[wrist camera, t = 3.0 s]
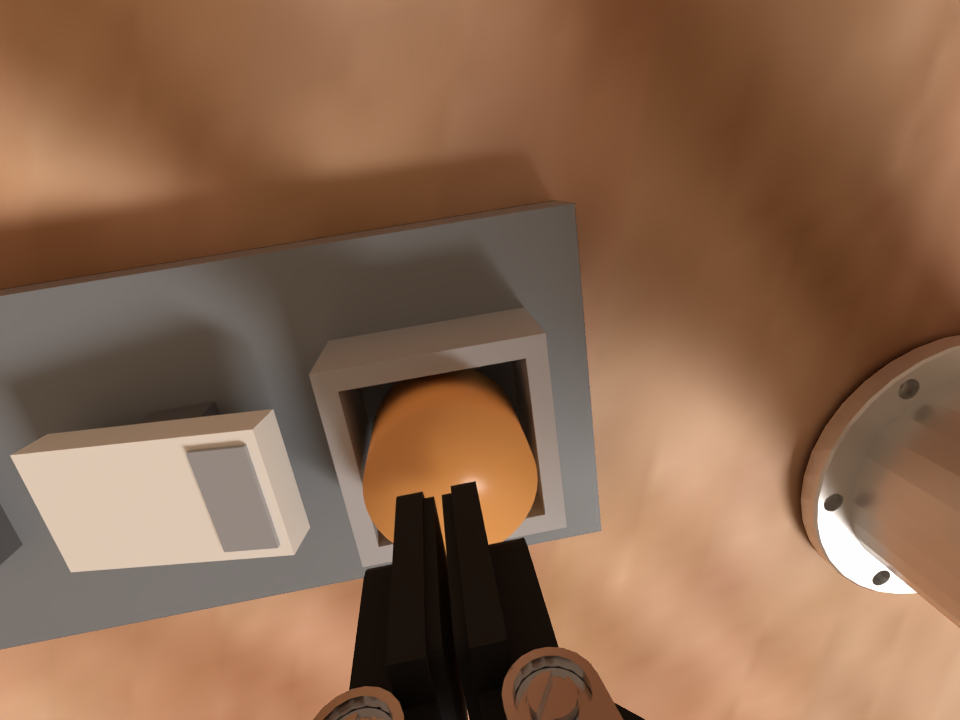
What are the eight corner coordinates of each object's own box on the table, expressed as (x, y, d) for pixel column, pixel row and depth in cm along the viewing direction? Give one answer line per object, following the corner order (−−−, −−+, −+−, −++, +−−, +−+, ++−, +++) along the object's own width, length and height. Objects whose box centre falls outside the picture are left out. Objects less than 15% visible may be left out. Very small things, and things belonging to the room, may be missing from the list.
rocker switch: (273, 408, 14) (249, 432, 13) (310, 527, 16) (292, 558, 14) (47, 434, 15) (5, 458, 14) (100, 544, 16) (67, 576, 15)
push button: (507, 353, 15) (527, 392, 12) (524, 480, 17) (545, 541, 14) (358, 379, 15) (343, 425, 12) (389, 506, 16) (383, 573, 14)
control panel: (554, 200, 18) (608, 207, 13) (581, 493, 22) (631, 589, 17) (-210, 323, 16) (-499, 387, 11) (-30, 611, 20) (-182, 755, 15)
